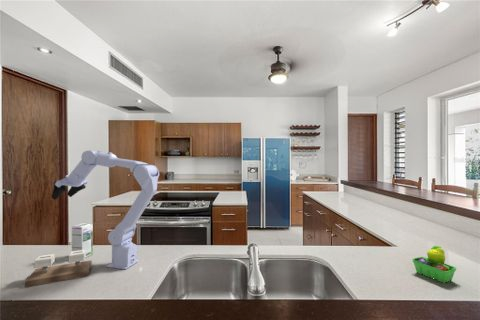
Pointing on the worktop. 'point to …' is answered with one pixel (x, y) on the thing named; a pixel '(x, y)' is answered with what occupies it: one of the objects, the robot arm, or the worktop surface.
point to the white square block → (77, 256)
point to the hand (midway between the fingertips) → (61, 196)
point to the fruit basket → (434, 265)
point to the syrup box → (83, 238)
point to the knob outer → (44, 260)
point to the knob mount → (58, 273)
